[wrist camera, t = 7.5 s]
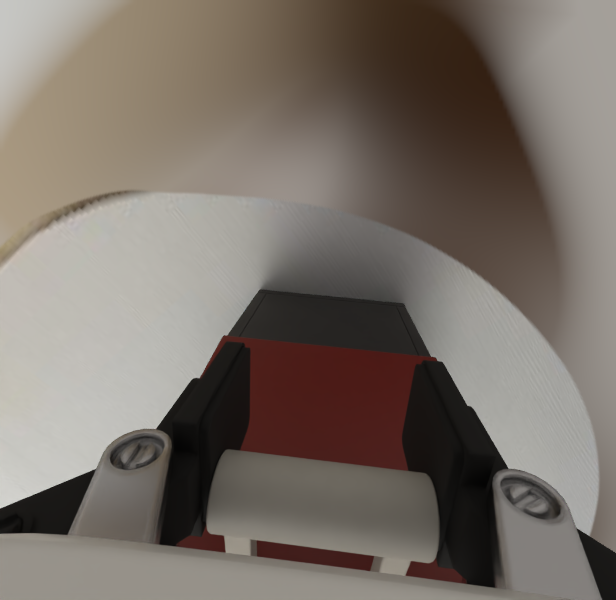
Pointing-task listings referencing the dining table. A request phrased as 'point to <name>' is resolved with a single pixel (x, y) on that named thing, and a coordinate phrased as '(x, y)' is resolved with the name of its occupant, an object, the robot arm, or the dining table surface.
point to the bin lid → (325, 465)
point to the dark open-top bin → (330, 323)
